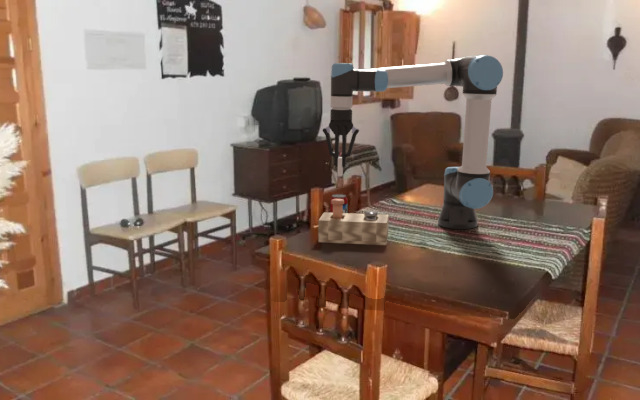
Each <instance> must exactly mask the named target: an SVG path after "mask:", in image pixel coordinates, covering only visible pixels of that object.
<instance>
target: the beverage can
mask: <svg viewBox="0 0 640 400" xmlns="http://www.w3.org/2000/svg"><path fill="white" fill-rule="evenodd" d="M332 199H343V200H344V204H343V213H348V212H349V211H348V210H349V209H348V208H349V207H348V206H349V205H348V203H349V201H348V200H349V198H347V195H346V194H343V193H335V194H334V193H333V194H332V195H331V198H330V202H329V203H330V204H329V206H330V208H329V209H330V211H329V213H333V204H331V200H332Z"/></svg>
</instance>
